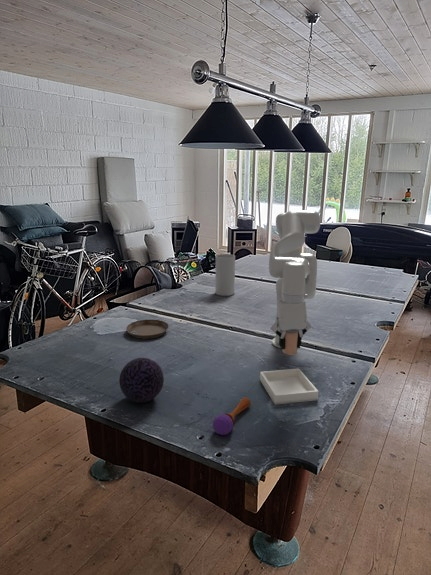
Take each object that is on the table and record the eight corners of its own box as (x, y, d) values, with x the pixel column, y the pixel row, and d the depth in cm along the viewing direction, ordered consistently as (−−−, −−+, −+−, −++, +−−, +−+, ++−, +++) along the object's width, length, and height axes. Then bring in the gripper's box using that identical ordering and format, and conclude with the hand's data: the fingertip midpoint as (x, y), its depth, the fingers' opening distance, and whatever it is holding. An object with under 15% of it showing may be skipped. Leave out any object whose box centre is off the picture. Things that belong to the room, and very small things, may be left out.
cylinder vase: (237, 292, 272) (238, 255, 266) (228, 297, 262) (228, 258, 255) (221, 289, 279) (222, 253, 272) (211, 294, 268) (211, 256, 262)
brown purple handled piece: (256, 398, 138) (229, 425, 120) (251, 413, 139) (224, 442, 122) (240, 390, 140) (211, 416, 123) (236, 405, 142) (207, 432, 124)
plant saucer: (161, 342, 192) (160, 336, 192) (119, 339, 196) (119, 332, 195) (174, 327, 212) (174, 321, 211) (136, 324, 216) (135, 318, 215)
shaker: (280, 349, 148) (281, 325, 146) (293, 348, 149) (295, 324, 147) (285, 355, 143) (286, 331, 141) (299, 354, 144) (300, 330, 142)
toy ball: (166, 388, 151) (164, 350, 147) (162, 410, 137) (160, 369, 133) (124, 388, 151) (122, 350, 147) (116, 411, 136) (114, 370, 132)
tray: (259, 380, 157) (260, 371, 156) (298, 376, 160) (299, 368, 159) (274, 404, 141) (275, 395, 140) (317, 400, 144) (318, 391, 143)
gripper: (311, 293, 146) (308, 341, 151) (265, 296, 143) (263, 344, 148) (320, 299, 139) (316, 349, 144) (272, 302, 136) (270, 353, 141)
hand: (289, 346), depth 146 cm, fingers closed on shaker, 5 cm apart
